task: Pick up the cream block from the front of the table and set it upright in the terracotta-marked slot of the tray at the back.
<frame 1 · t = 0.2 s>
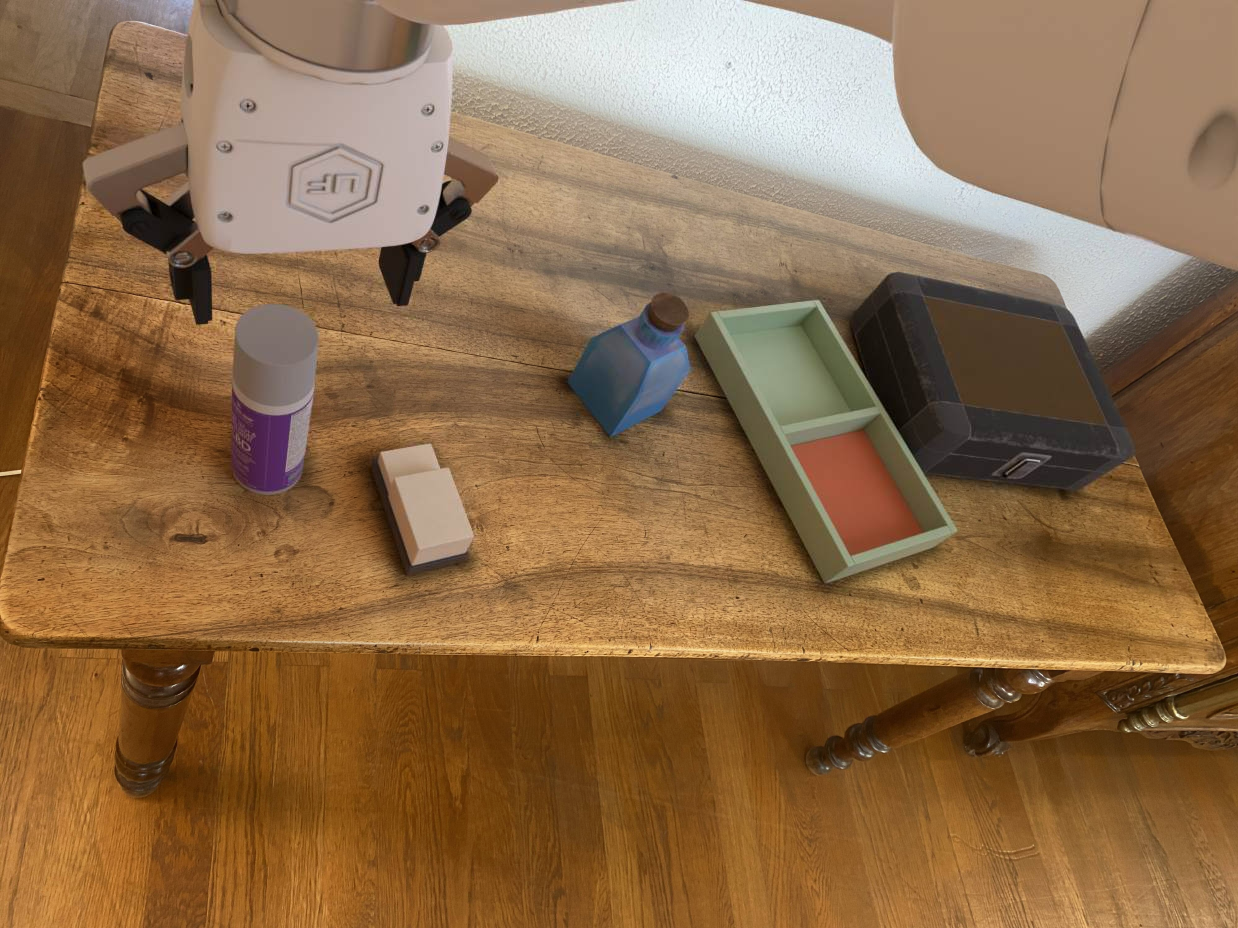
hand: (300, 293, 45), 21 cm above the table, tool pointing down, fingers open, 9 cm apart
container: (267, 467, 61), on the table
tray: (811, 440, 82), on the table
perfume bottle: (614, 398, 76), on the table
cash box: (963, 407, 93), on the table
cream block: (417, 514, 64), on the table
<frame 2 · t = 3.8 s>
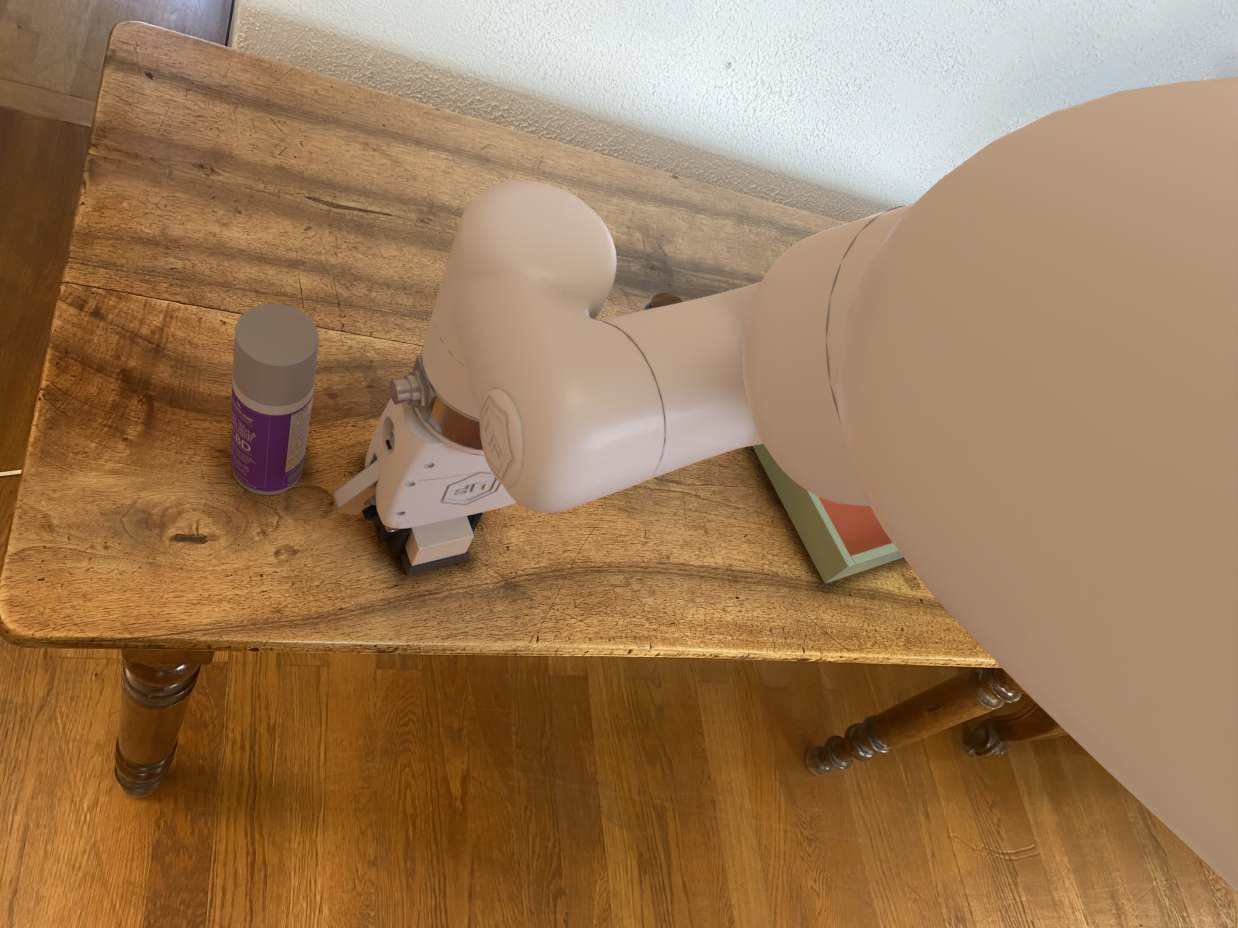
hand: (425, 528, 63), 1 cm above the table, tool pointing down, fingers closed on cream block, 4 cm apart
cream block: (417, 513, 64), on the table, touching gripper
everything else where it was.
when the fingers open (1 cm above the table, at t = 13.9 s): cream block stays where it is, resting on tray.
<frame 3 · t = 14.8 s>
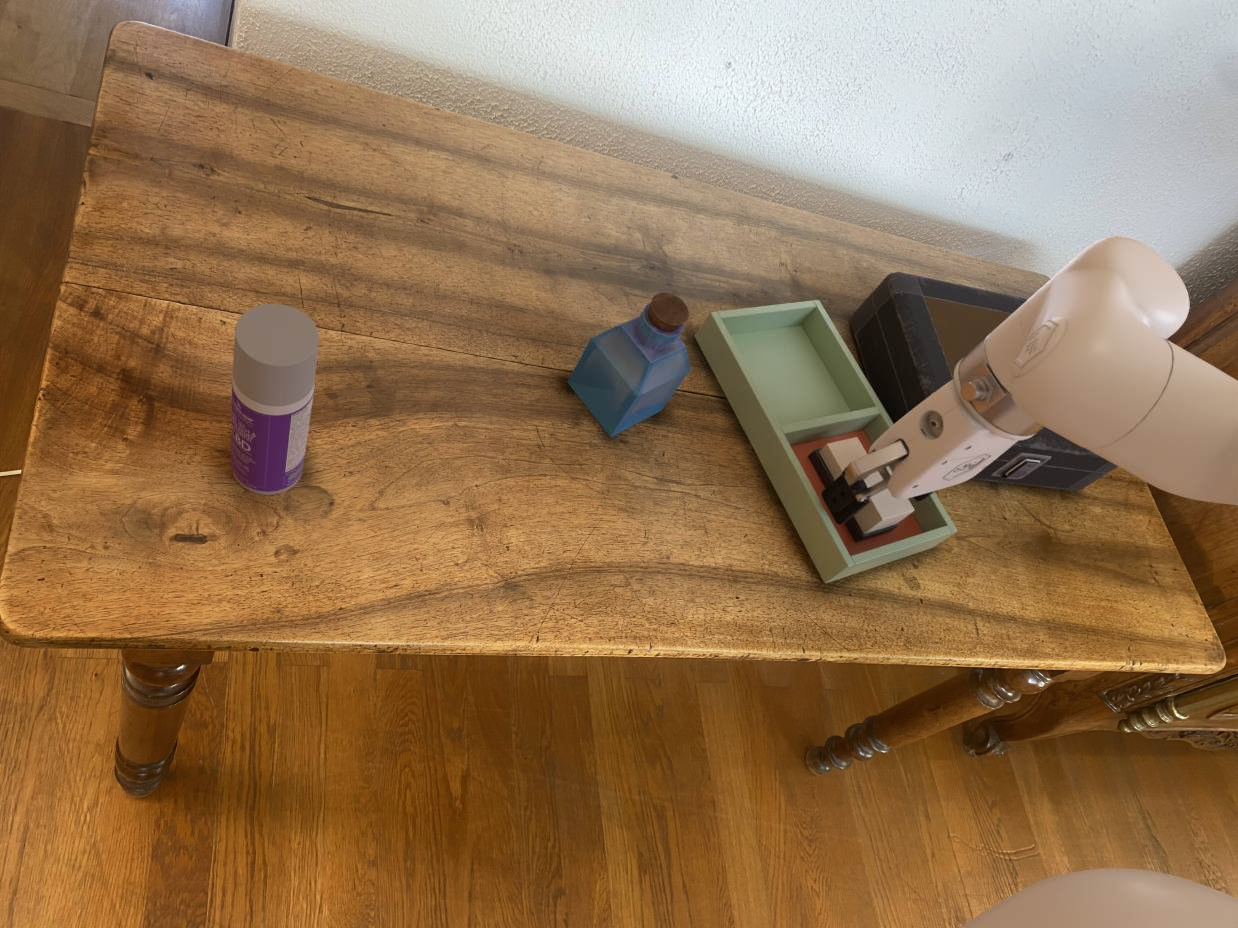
hand: (871, 497, 77), 3 cm above the table, tool pointing down, fingers open, 9 cm apart
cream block: (848, 493, 79), point 1 cm above the table, touching tray
everything else where it was.
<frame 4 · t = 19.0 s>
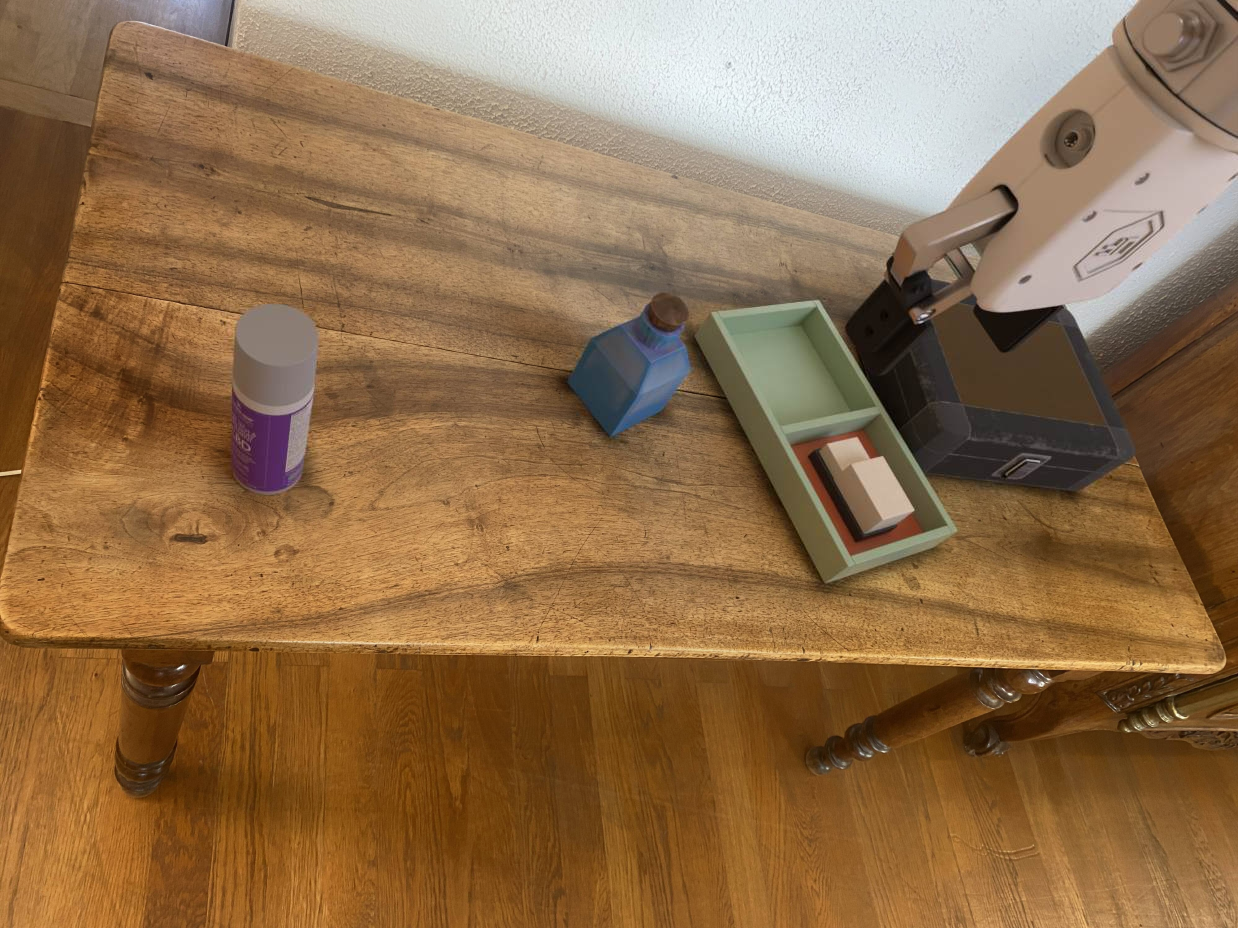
hand: (929, 341, 45), 30 cm above the table, tool pointing down, fingers open, 9 cm apart
nothing on the table moved.
at the end: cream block inside the target area in the tray (0.1 cm from its centre), point 0.8 cm above the tray's base; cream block tilted 0°; the gripper is holding nothing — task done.
